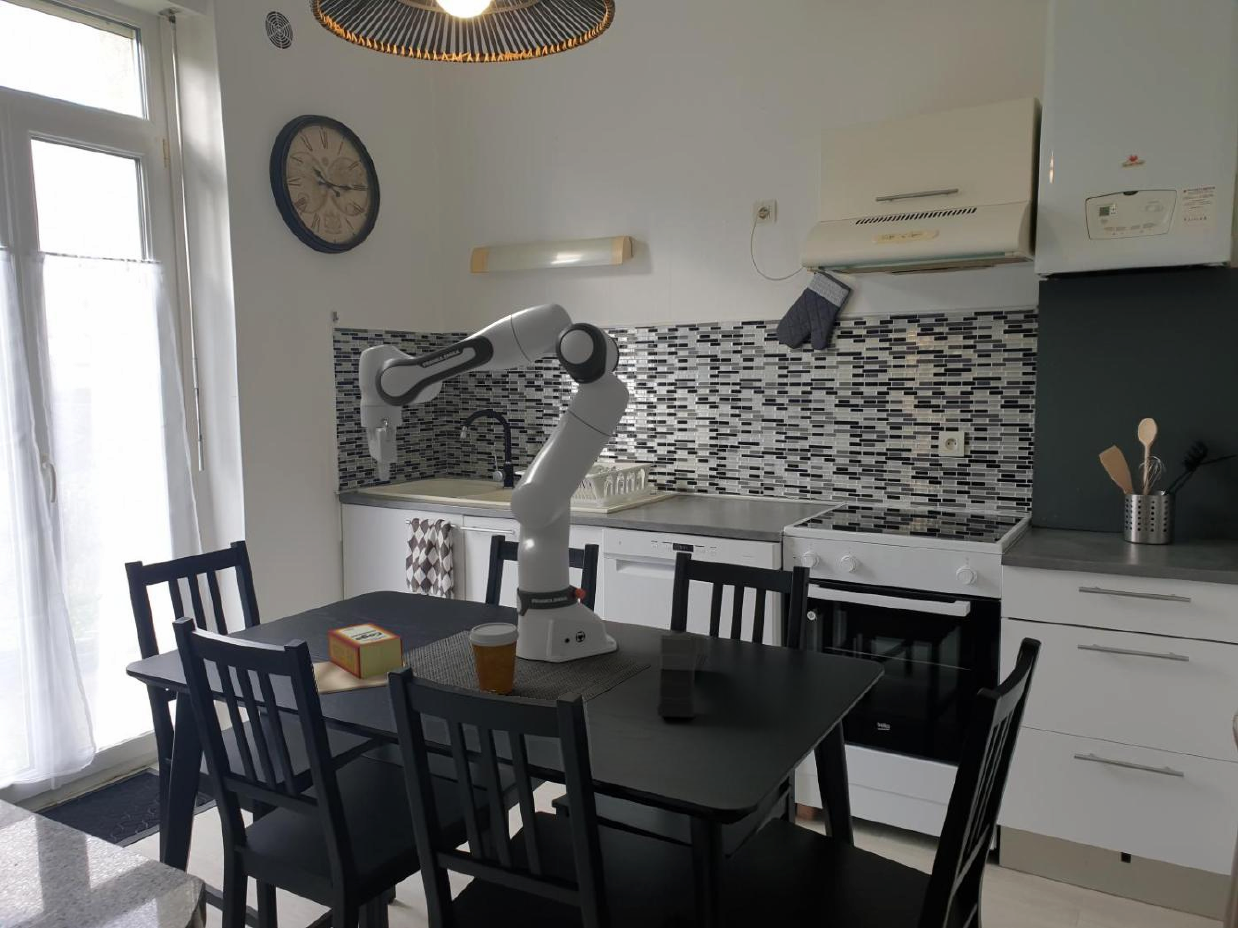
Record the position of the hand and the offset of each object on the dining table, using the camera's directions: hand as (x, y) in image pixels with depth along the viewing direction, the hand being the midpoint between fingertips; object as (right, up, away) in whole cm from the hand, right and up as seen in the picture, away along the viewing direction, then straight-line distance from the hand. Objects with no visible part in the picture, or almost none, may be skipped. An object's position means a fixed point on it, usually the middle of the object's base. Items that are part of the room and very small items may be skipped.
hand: (384, 480), depth 208 cm
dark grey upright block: (+65, -40, -34) cm, 83 cm away
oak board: (0, -39, -19) cm, 43 cm away
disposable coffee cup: (+29, -40, -30) cm, 58 cm away
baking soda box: (-5, -35, -8) cm, 36 cm away
